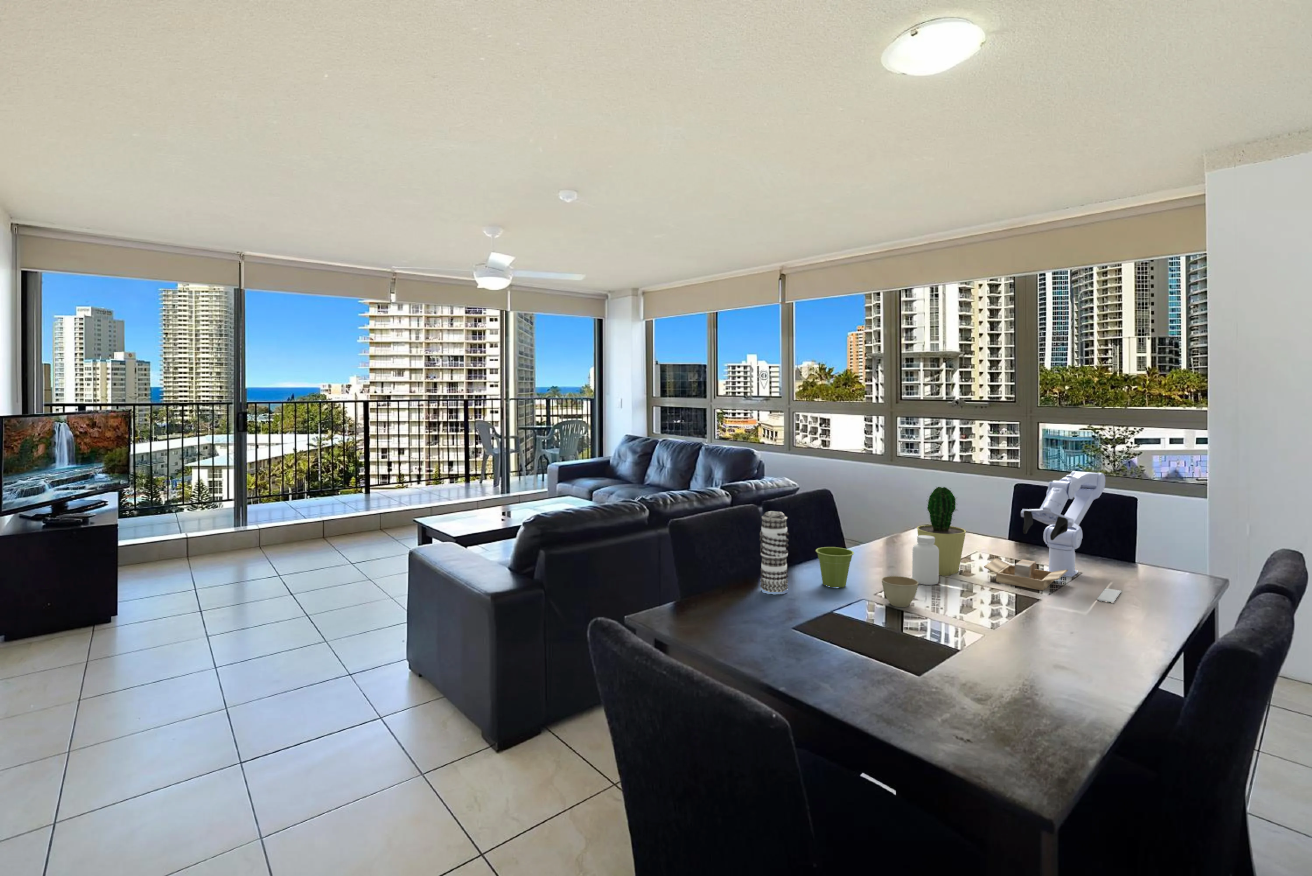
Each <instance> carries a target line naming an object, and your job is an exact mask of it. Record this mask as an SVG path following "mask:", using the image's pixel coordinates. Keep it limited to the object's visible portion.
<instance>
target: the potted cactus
mask: <svg viewBox="0 0 1312 876" xmlns="http://www.w3.org/2000/svg"><path fill="white" fill-rule="evenodd" d="M927 497H928V498H927V506H926V508H927V509H926V510H927V511H928V512H927V513H926V514H927V515H929V520H930V521H929V522H930V524H922V525H919V526H916V529H917V536H919V535H927V536H933V537H935V542H934V545H936V546H937V547H938V549H939V576H941V575H942V576H943V577H944V576H945V577H950V576H952V575H954V574H958V573H959V571H960V565H961V560H962V555H963V554H962V553H963V550H964V545H965V539H966V538H965V537H966V532H967V531H966V529H964V528H961V527H957V526H953V525H952V520H953V521H954V520H955V519H953V517H954V516H955V515H954V513H955V512H957V511H958V509H957V503H956V502H957V501H956V500H957V499H958V497H956V496H955V494H954V491H952V490H951V489H950V488H947V487H946V486H936V487H935V488H934V489H933V491H931V493H930V494H929V495H928V496H927Z"/></svg>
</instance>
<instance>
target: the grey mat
mask: <svg viewBox="0 0 1312 876" xmlns="http://www.w3.org/2000/svg"><path fill="white" fill-rule="evenodd" d="M1120 593H1122V590H1119V589H1114V588H1107V587H1105V588H1104V590H1102V591H1101V592H1100V594H1099V595H1098V597H1096V599H1095V601H1096V600H1099V601H1098V602H1102V601H1107V602H1113V603H1114V604H1115V602H1116V601H1117V599H1118V598H1119V597H1118V595H1119V594H1120ZM1120 595H1121V594H1120ZM1120 595H1119V596H1120ZM1117 597H1118V598H1117ZM1116 598H1117V599H1116ZM1115 600H1116V601H1115ZM1114 601H1115V602H1114ZM1107 602H1106V603H1107ZM1113 603H1112V604H1113Z"/></svg>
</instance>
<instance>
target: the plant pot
mask: <svg viewBox="0 0 1312 876" xmlns="http://www.w3.org/2000/svg"><path fill="white" fill-rule="evenodd" d="M815 552H816V554H817V558H818V561H819V562H818V563H819V568H820V574H821V582H822V585H823V584H824V585H823V586H825V585H827V586H830V587H840V588H845V587H846V586H847V583H848V582H847V581H848V580H847V579H848V575H849V569H850V565H851V561H852V557H853V555H854V554H855V552H854V551H853V550H851V549H848V548H843V547H836V546H824V547H818V548H816V549H815ZM827 586H826V587H827ZM844 586H845V587H844Z"/></svg>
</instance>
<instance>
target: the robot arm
mask: <svg viewBox="0 0 1312 876" xmlns="http://www.w3.org/2000/svg"><path fill="white" fill-rule="evenodd" d="M1105 487H1106V475H1105V474H1104V473H1103V472H1090V471H1089V472H1088V471H1076V470H1073V471H1071V472H1070V474H1066V476H1064V477H1062V478H1060V479H1059V480H1052V481H1049V482H1048V486H1047V490H1046V496H1045V498H1044V500H1043V502H1042V504H1041V506H1040V507H1039V508H1029V509H1028V508H1022V510H1021V511H1020V517H1021V518H1023V521H1024V523H1023V529H1022V533H1023V534H1024V535H1027V533H1028V532H1029V529H1030V528H1031V527H1032V526H1033V525H1034V520H1036V521H1038V522H1040V523H1043V524H1045V525H1048V526H1046V527H1045V529H1044V531H1043V535H1042V536H1043V538H1042V539H1043V541H1044V543H1045V545H1047V547H1048V548H1049V549H1048V550H1049V551H1048V569H1047V570H1046V571H1051V572H1054V571H1060V570H1067V569H1068V571H1067V572H1066V573H1065V574H1064V575H1063V576H1066V577H1071V578H1072V577H1074V576H1075V575H1077V574H1078V573H1079V570H1076V552H1075V551H1076V550H1077V549H1079V548H1080V547H1081V544H1082V539H1083V530H1082V527H1081V526H1080V524H1081V522H1082V520H1083V519H1084V517H1085V516H1086V514H1087V512H1088V510H1089V508H1090V507H1091V505H1092V503H1093V501H1094V500H1096V499H1099V498H1101V497H1100V496H1101V495H1102V493H1103V492H1104V491H1105ZM1068 500H1073V501H1072V503H1071V504H1070V505H1069V507H1068V508H1067V511H1066V512H1065V514H1064V515H1063V514H1061V513H1062V511H1063V510H1064V507H1065V506H1066V503H1067V501H1068Z"/></svg>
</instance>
